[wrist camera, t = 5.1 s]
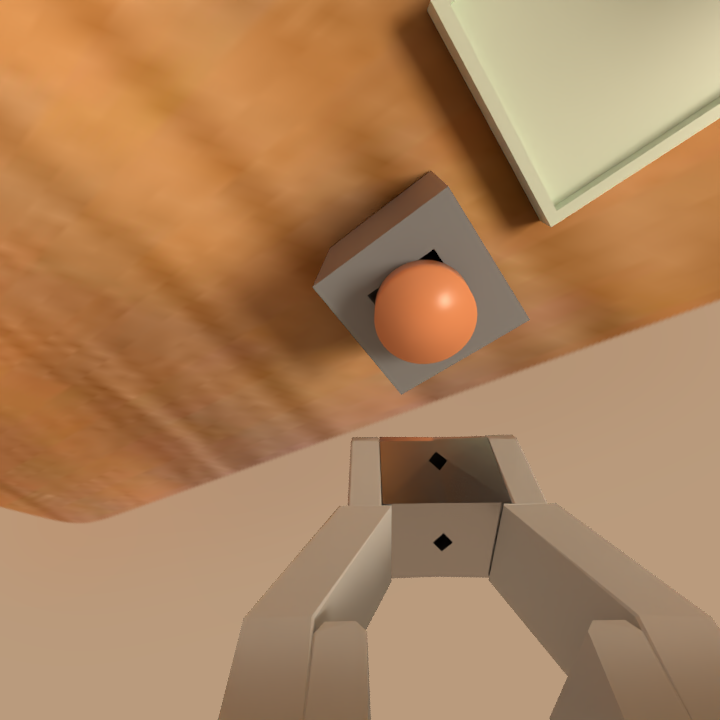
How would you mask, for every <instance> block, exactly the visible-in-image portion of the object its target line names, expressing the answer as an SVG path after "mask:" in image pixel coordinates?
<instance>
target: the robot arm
mask: <svg viewBox="0 0 720 720" xmlns="http://www.w3.org/2000/svg"><path fill="white" fill-rule="evenodd" d="M435 576H436V577H439V576H441V577H489V581H490V582H491V583H492V585H493V586H494V587H495V588H496V590H497V591H498V592H499V593H500V594H501V596H502V597H503V598H504V599H505V600H506V602H507V603H508V604H509V605H510V607H511V608H512V609H513V610H514V611H515V613H516V614H517V615H518V616H519V617H520V619H521V620H522V621H523V622H524V623H525V625H526V626H527V627H528V628H529V630H530V631H531V632H532V633H533V635H534V636H535V637H536V638H537V639H538V641H539V642H540V643H541V644H542V645H543V647H544V648H545V649H546V650H547V651H548V653H549V654H550V655H551V656H552V658H553V659H554V660H555V661H556V663H557V664H558V665H559V666H560V667H561V669H562V670H563V671H564V672H565V673H566V674H567V676H568V677H567V680H566V682H565V684H564V686H563V689H562V691H561V693H560V696H559V698H558V700H557V702H556V705H555V707H554V709H553V712H552V714H551V716H550V720H720V628H719V627H718V626H717V624H716V623H715V621H714V620H713V618H712V617H711V616H709V615H708V614H706V613H705V612H704V611H702V610H701V609H700V608H698V607H697V606H695V605H694V604H693V603H691V602H690V601H689V600H687V599H686V598H685V597H683V596H682V595H680V594H679V593H678V592H676V591H675V590H674V589H672V588H671V587H670V586H668V585H667V584H665V583H664V582H663V581H662V580H660V579H659V578H657V577H656V576H654V575H653V574H652V573H651V572H649V571H648V570H647V569H645V568H644V567H642V566H641V565H640V564H638V563H637V562H636V561H634V560H633V559H632V558H630V557H629V556H627V555H626V554H625V553H623V552H622V551H621V550H619V549H618V548H617V547H615V546H614V545H612V544H611V543H610V542H608V541H607V540H605V539H604V538H603V537H601V536H600V535H599V534H597V533H596V532H595V531H593V530H592V529H591V528H589V527H588V526H586V525H585V524H584V523H582V522H581V521H580V520H578V519H577V518H575V517H574V516H573V515H572V514H570V513H569V512H567V511H566V510H565V509H563V508H562V507H561V506H559V505H558V504H556V503H547V501H546V499H545V497H544V495H543V493H542V491H541V489H540V487H539V485H538V483H537V481H536V478H535V477H534V475H533V472H532V470H531V468H530V466H529V464H528V462H527V459H526V457H525V455H524V453H523V451H522V449H521V447H520V445H519V443H518V440H517V438H516V437H514V436H513V435H488V436H474V437H473V436H472V437H433V438H432V437H380V439H379V438H377V437H374V438H373V437H362V438H361V437H359V438H358V437H353V438H352V441H351V450H350V472H349V493H348V506H339V507H338V508H337V509H336V511H335V512H334V513H333V514H332V515H331V516H330V518H329V519H328V520H327V521H326V522H325V523H324V525H323V526H322V527H321V528H320V529H319V530H318V532H317V533H316V534H315V535H314V536H313V537H312V539H311V540H310V541H309V542H308V543H307V545H306V546H305V547H304V548H303V549H302V550H301V552H300V553H299V554H298V555H297V556H296V558H295V559H294V560H293V561H292V562H291V563H290V565H289V566H288V567H287V568H286V569H285V570H284V572H283V573H282V574H281V575H280V576H279V577H278V579H277V580H276V581H275V582H274V583H273V584H272V586H271V587H270V588H269V589H268V590H267V591H266V593H265V594H264V595H263V596H262V597H261V598H260V600H259V601H258V602H257V603H256V604H255V605H254V607H253V608H252V609H251V610H250V611H249V612H248V614H247V615H246V616H245V617H244V619H243V623H242V626H241V630H240V634H239V639H238V642H237V646H236V650H235V655H234V658H233V663H232V666H231V670H230V675H229V678H228V682H227V686H226V690H225V694H224V698H223V702H222V706H221V710H220V714H219V718H218V720H371V714H370V691H369V668H368V643H367V631H366V629H367V627H368V625H369V623H370V621H371V619H372V617H373V616H374V613H375V612H376V610H377V608H378V606H379V604H380V602H381V600H382V598H383V596H384V594H385V593H386V591H387V589H388V587H389V585H390V583H391V578H410V577H435Z"/></svg>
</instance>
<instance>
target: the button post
mask: <svg viewBox="0 0 720 720" xmlns="http://www.w3.org/2000/svg"><path fill="white" fill-rule="evenodd" d="M433 249H435V251H436V252H437V254H438V255H439V257H440V258H441V260H442V261H443V263H445V264H447V265H449V266H451V267H452V268H453V269H455V270H456V271H457V272H458V273H459V274H460V275H461V276H462V277H463V279H464V280H465V282H466V283H467V285H468V287H469V289H470V291H471V293H472V295H473V296H474V299H475V302H476V306H477V323H476V327H475V330H474V332H473V334H472V336H471V338H470V340H469V341H468V342H467V344H466V345H465V346H464V347H463V348H462V349H461V350H460V351H459V352H457V353H456V354H455V355H453V356H451V357H449V358H447V359H445V360H443V361H440V362H436V363H430V364H415V363H410V362H407V361H404V360H401V359H399V358H397V357H396V356H394V355H393V354H391V353H390V352H389V351H388V350H387V349H386V348H385V347H384V346H383V344H382V343H381V341H380V340H379V338H378V335H377V333H376V329H375V323H374V314H375V300H376V295H377V292H378V290H379V288H380V286H381V284H382V282H383V281H384V280H385V278H386V277H387V276H388V275H389V274H390V273H391V272H392V271H394V270H395V269H396V268H398V267H400V266H402V265H404V264H406V263H409V262H412V261H417V260H419V259H420V258H422V257H423V256H425V255H426V254H428V253H429V252H430V251H432V250H433ZM313 288H314V290H315V291H316V292H317V293H318V294H319V296H320V297H321V298H322V299H323V301H324V302H325V303H326V304H327V305H328V307H329V308H330V309H331V310H332V311H333V313H334V314H335V315H336V316H337V317H338V319H339V320H340V321H341V322H342V323H343V325H344V326H345V327H346V328H347V330H348V331H349V332H350V333H351V334H352V336H353V337H354V338H355V339H356V340H357V342H358V343H359V344H360V345H361V346H362V348H363V349H364V350H365V351H366V353H367V354H368V355H369V356H370V357H371V359H372V360H373V361H374V362H375V363H376V365H377V366H378V367H379V368H380V369H381V371H382V372H383V373H384V374H385V375H386V377H387V378H388V379H389V380H390V382H391V383H392V384H393V385H394V386H395V388H396V389H397V390H398V391H399V392H400V394H401V395H402V394H403V393H405V392H407V391H408V390H410V389H412V388H414V387H415V386H417V385H419V384H420V383H422V382H424V381H426V380H427V379H429V378H431V377H432V376H434V375H436V374H438V373H439V372H441V371H443V370H444V369H446V368H448V367H450V366H451V365H453V364H455V363H456V362H458V361H460V360H462V359H463V358H465V357H467V356H469V355H470V354H472V353H474V352H475V351H477V350H479V349H481V348H482V347H484V346H486V345H487V344H489V343H491V342H493V341H494V340H496V339H498V338H499V337H501V336H503V335H505V334H506V333H508V332H510V331H511V330H513V329H515V328H517V327H518V326H520V325H522V324H523V323H525V322H527V321H529V320H530V319H529V318H528V316H527V314H526V313H525V311H524V309H523V308H522V306H521V305H520V303H519V301H518V300H517V298H516V296H515V295H514V293H513V291H512V290H511V288H510V287H509V285H508V283H507V282H506V280H505V278H504V277H503V275H502V273H501V272H500V270H499V269H498V267H497V265H496V264H495V262H494V260H493V259H492V257H491V255H490V254H489V252H488V251H487V249H486V247H485V246H484V244H483V242H482V241H481V239H480V237H479V236H478V234H477V233H476V231H475V229H474V228H473V226H472V224H471V223H470V221H469V220H468V218H467V216H466V215H465V213H464V211H463V210H462V208H461V206H460V205H459V203H458V202H457V200H456V198H455V197H454V195H453V193H452V192H451V190H450V188H449V187H448V186H447V185H446V184H445V183H444V182H443V181H442V180H441V179H439V178H438V177H437V176H436V175H435V174H434V173H433V172H432V171H430V172H428V173H427V174H426V175H424V176H423V177H422V178H420V179H419V180H418V181H417V182H415V183H414V184H413V185H411V186H410V187H409V188H407V189H406V190H405V191H403V192H402V193H401V194H400V195H398V196H397V197H396V198H394V199H393V200H392V201H390V202H389V203H388V204H387V205H385V206H384V207H383V208H381V209H380V210H379V211H377V212H376V213H375V214H374V215H372V216H371V217H370V218H368V219H367V220H366V221H364V222H363V223H362V224H361V225H359V226H358V227H357V228H355V229H354V230H353V231H351V232H350V233H349V234H348V235H346V236H345V237H344V238H342V239H341V240H340V241H338V242H337V243H336V244H335V245H333V246H332V247H331V248H330V249H329V251H328V253H327V256H326V258H325V260H324V262H323V265H322V267H321V269H320V271H319V274H318V276H317V278H316V280H315V283H314V285H313Z"/></svg>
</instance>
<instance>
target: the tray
mask: <svg viewBox="0 0 720 720" xmlns="http://www.w3.org/2000/svg"><path fill="white" fill-rule="evenodd" d="M427 12H428V14H429V15H430V17H431V19H432V21H433V23H434V25H435V27H436V28H437V30H438V32H439V34H440V36H441V38H442V39H443V41H444V43H445V45H446V47H447V49H448V51H449V52H450V54H451V56H452V58H453V60H454V62H455V64H456V65H457V67H458V69H459V71H460V73H461V75H462V77H463V78H464V80H465V82H466V84H467V86H468V88H469V90H470V91H471V93H472V95H473V97H474V99H475V101H476V103H477V104H478V106H479V108H480V110H481V112H482V114H483V116H484V117H485V119H486V121H487V123H488V125H489V127H490V128H491V130H492V132H493V134H494V136H495V138H496V140H497V141H498V143H499V145H500V147H501V149H502V151H503V153H504V154H505V156H506V158H507V160H508V162H509V164H510V166H511V167H512V169H513V171H514V173H515V175H516V177H517V179H518V180H519V182H520V184H521V186H522V188H523V190H524V192H525V193H526V195H527V197H528V199H529V201H530V203H531V205H532V206H533V208H534V210H535V212H536V214H537V216H538V218H539V219H540V221H541V222H543V223H545V224H547V225H548V226H550V227H552V226H554V225H555V224H557V223H558V222H560V221H562V220H563V219H565V218H566V217H568V216H569V215H571V214H572V213H574V212H575V211H577V210H579V209H580V208H582V207H583V206H585V205H586V204H588V203H589V202H591V201H592V200H594V199H596V198H597V197H599V196H600V195H602V194H603V193H605V192H606V191H608V190H609V189H611V188H612V187H614V186H616V185H617V184H619V183H620V182H622V181H623V180H625V179H626V178H628V177H629V176H631V175H633V174H634V173H636V172H637V171H639V170H640V169H642V168H643V167H645V166H646V165H648V164H650V163H651V162H653V161H654V160H656V159H657V158H659V157H660V156H662V155H663V154H665V153H667V152H668V151H670V150H671V149H673V148H674V147H676V146H677V145H679V144H680V143H682V142H684V141H685V140H687V139H688V138H690V137H691V136H693V135H694V134H696V133H697V132H699V131H701V130H702V129H704V128H705V127H707V126H708V125H710V124H711V123H713V122H714V121H716V120H717V119H719V118H720V0H430V3H429V6H428V8H427Z"/></svg>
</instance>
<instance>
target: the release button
mask: <svg viewBox="0 0 720 720" xmlns="http://www.w3.org/2000/svg"><path fill="white" fill-rule="evenodd" d="M374 323H375V329H376V333H377V335H378V338H379V340H380V341H381V343H382V344H383V346H384V347H385V348H386V349H387V350H388V351H389V352H390V353H391V354H393V355H394V356H396V357H397V358H399V359H401V360H404V361H407V362H410V363H415V364H430V363H436V362H440V361H443V360H445V359H447V358H449V357H451V356H453V355H455V354H456V353H457V352H459V351H460V350H461V349H462V348H463V347H464V346H465V345H466V344H467V342H468V341H469V340H470V338H471V336H472V334H473V332H474V330H475V327H476V323H477V306H476V302H475V299H474V296H473V295H472V293H471V291H470V289H469V287H468V285H467V283H466V282H465V280H464V279H463V277H462V276H461V275H460V274H459V273H458V272H457V271H456V270H455V269H453V268H452V267H451V266H449V265H447V264H445V263H442V262H439V260H438V258H437V256H436V255H435V254H434V253H433V252H432V251H430V252H429V253H428V254H426V255H425V256H423V257H422V258H420V259H419V260H417V261H412V262H409V263H406V264H404V265H402V266H400V267H398V268H396V269H395V270H394V271H392V272H391V273H390V274H389V275H388V276H387V277H386V278H385V280H384V281H383V282H382V284H381V286H380V288H379V290H378V292H377V295H376V300H375V314H374Z"/></svg>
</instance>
